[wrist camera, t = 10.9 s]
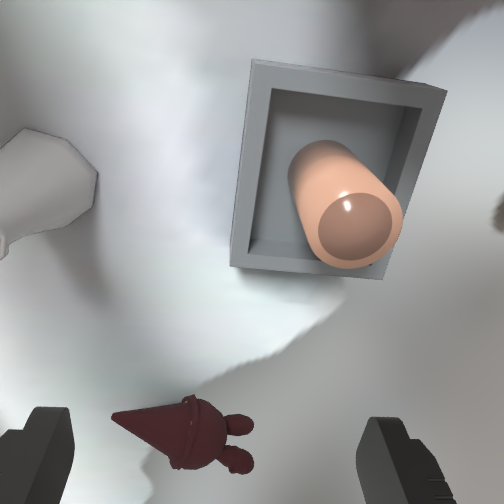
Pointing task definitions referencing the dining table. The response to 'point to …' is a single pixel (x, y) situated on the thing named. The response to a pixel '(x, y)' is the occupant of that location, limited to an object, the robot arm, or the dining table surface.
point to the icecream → (191, 434)
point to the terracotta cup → (342, 206)
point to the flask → (41, 186)
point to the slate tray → (314, 129)
